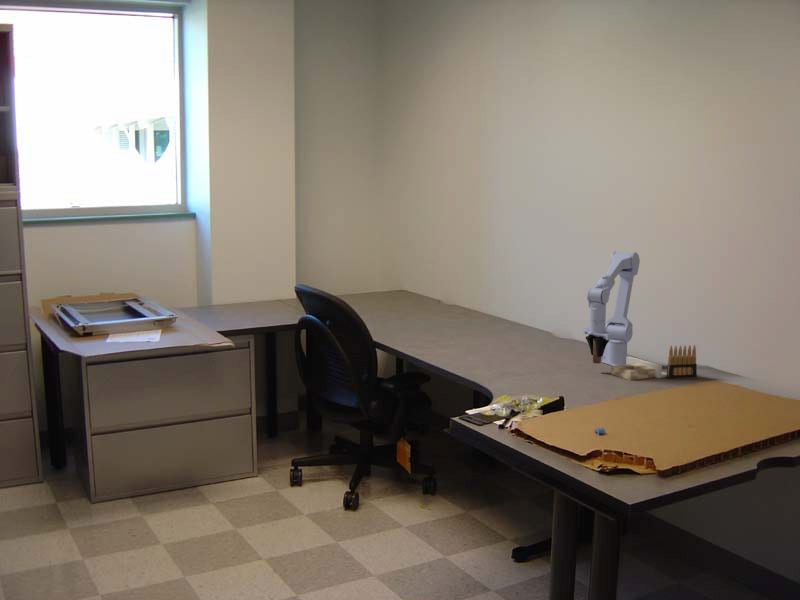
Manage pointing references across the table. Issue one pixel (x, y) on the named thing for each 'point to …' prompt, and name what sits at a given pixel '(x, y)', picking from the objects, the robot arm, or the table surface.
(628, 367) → the block
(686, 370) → the ammunition clip
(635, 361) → the white rectangular slab
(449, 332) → the table surface
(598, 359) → the dowel
